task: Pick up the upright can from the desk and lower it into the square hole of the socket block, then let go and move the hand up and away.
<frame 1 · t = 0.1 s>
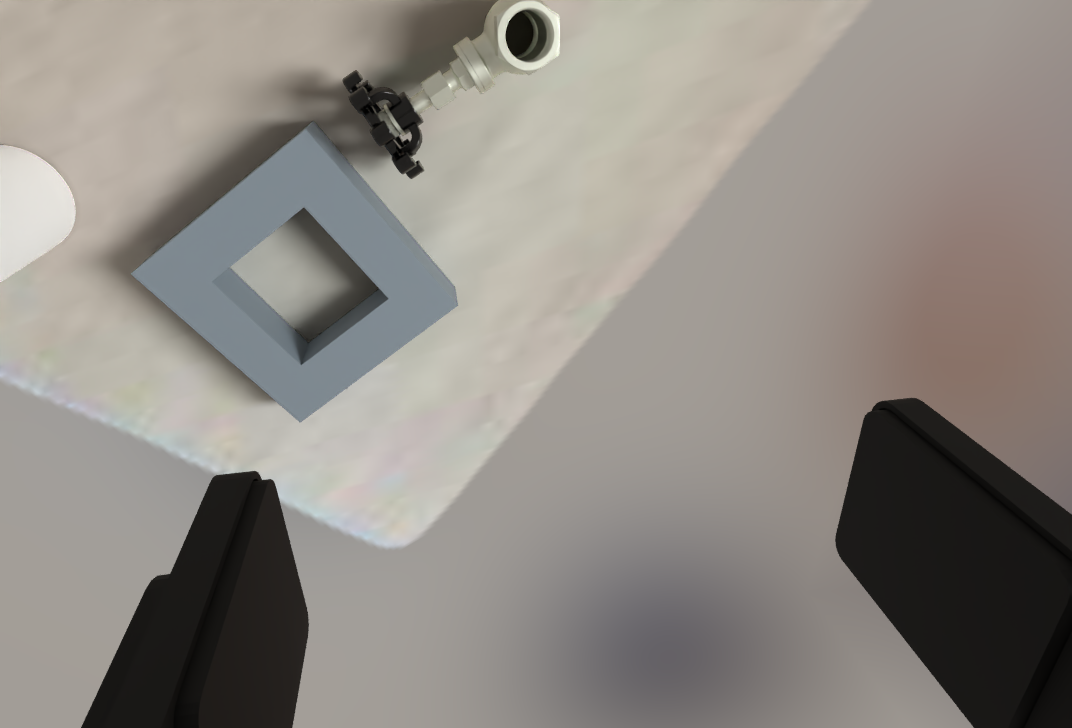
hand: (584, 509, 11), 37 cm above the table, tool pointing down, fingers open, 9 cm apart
valve: (459, 69, 42), on the table
socket block: (310, 272, 46), on the table
can: (21, 197, 41), on the table
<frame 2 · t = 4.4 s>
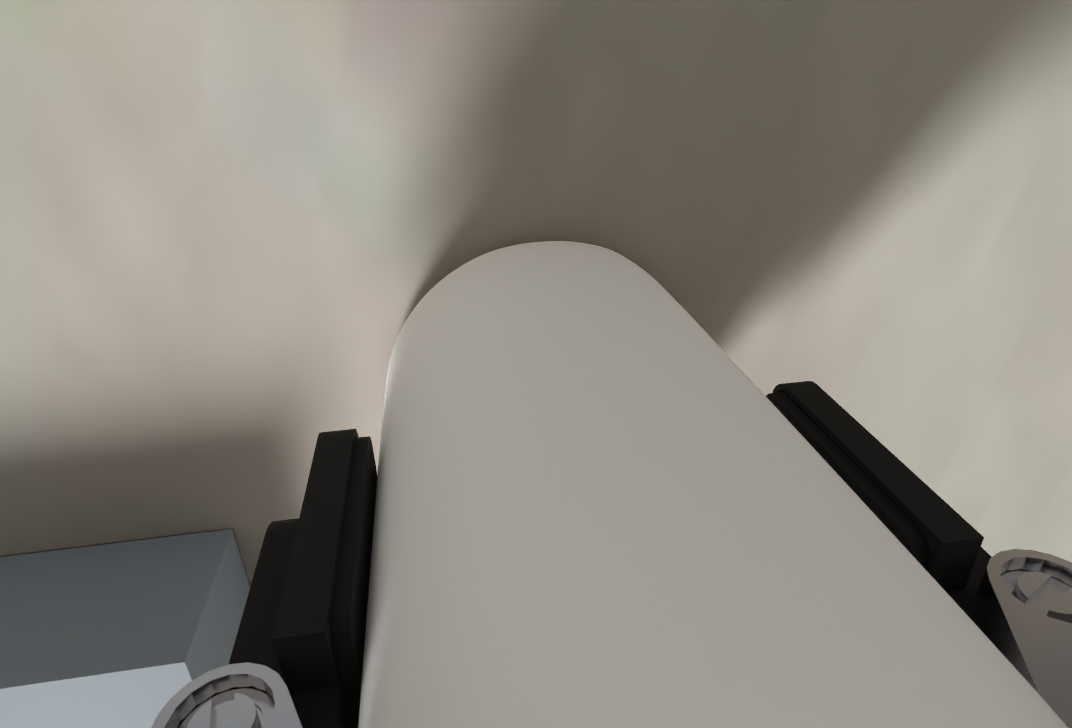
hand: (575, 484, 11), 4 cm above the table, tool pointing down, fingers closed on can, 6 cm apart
can: (538, 374, 15), on the table, touching gripper
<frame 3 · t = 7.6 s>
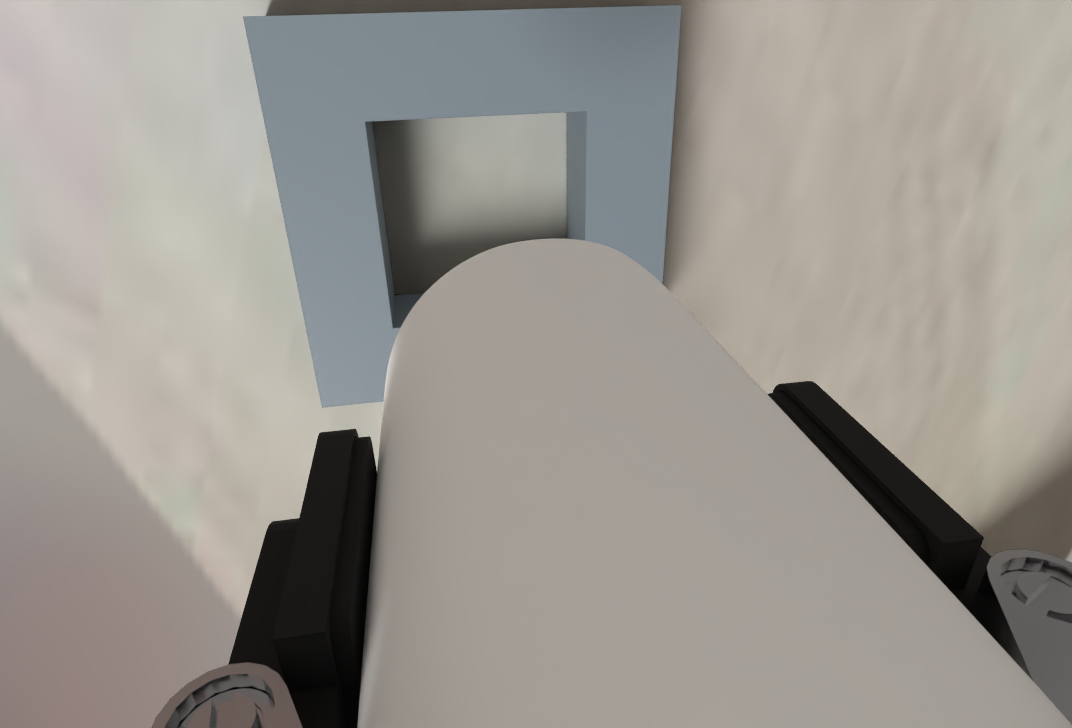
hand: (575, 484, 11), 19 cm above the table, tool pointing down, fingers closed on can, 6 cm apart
socket block: (476, 202, 28), on the table
can: (538, 372, 15), point 15 cm above the table, touching gripper
when the fingers open (5 cm above the table, at t = 10.9 s): can drops 2 cm, resting in socket block.
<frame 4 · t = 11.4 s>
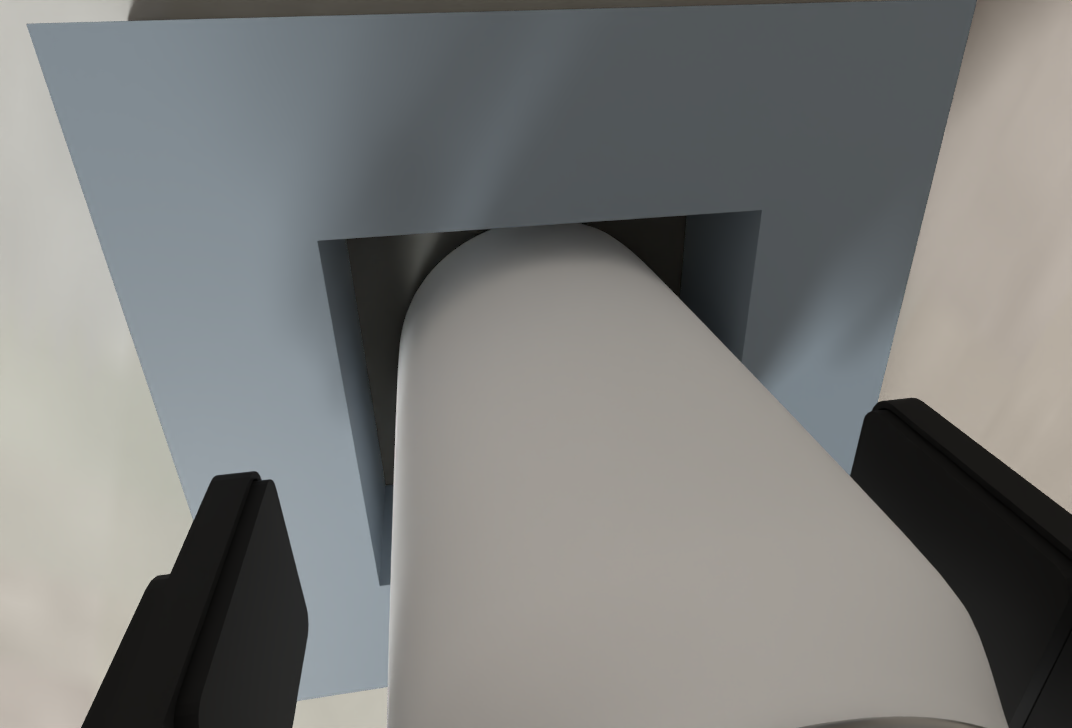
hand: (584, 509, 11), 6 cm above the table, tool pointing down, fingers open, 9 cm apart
socket block: (525, 340, 16), on the table
can: (533, 342, 16), resting in socket block
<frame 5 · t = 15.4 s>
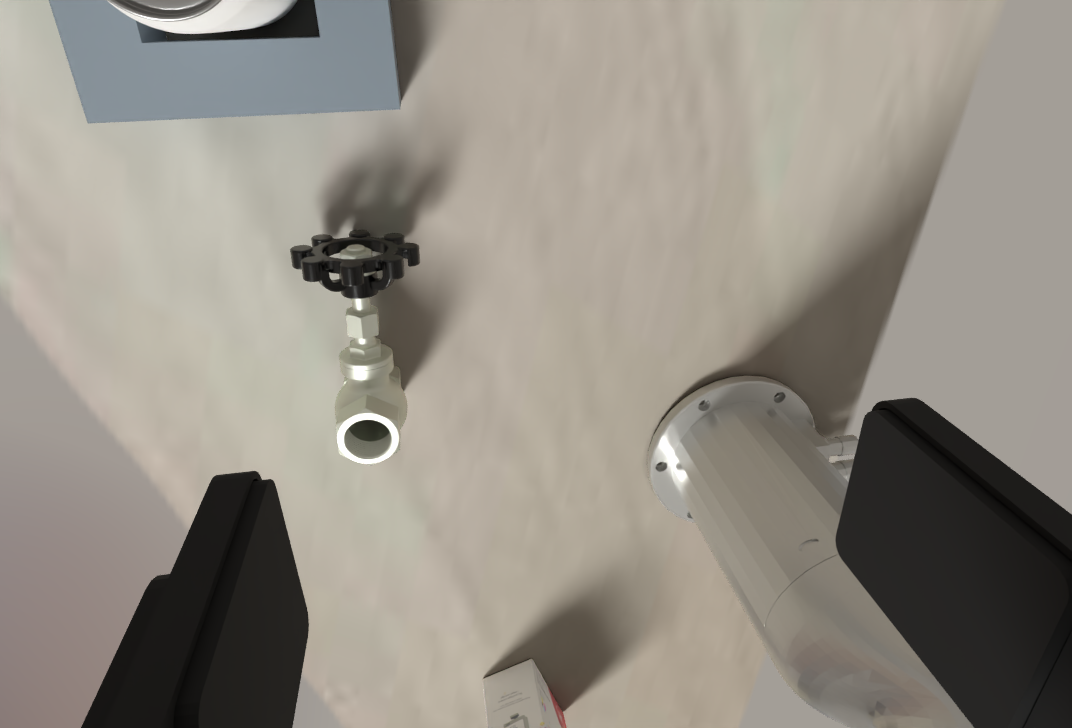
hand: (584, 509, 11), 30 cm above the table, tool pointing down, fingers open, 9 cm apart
valve: (369, 324, 41), on the table
ink cartridge box: (524, 692, 59), on the table
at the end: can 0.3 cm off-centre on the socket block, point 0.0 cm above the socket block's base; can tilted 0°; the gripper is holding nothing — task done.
